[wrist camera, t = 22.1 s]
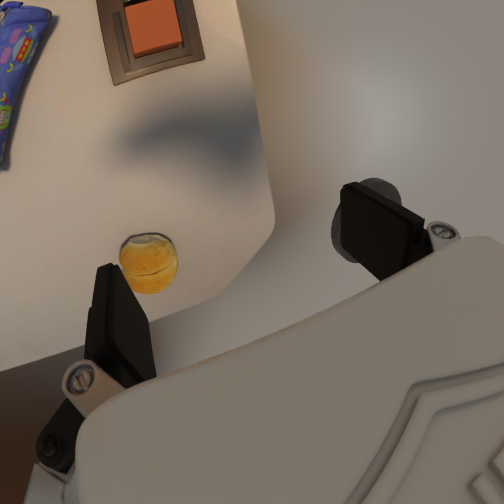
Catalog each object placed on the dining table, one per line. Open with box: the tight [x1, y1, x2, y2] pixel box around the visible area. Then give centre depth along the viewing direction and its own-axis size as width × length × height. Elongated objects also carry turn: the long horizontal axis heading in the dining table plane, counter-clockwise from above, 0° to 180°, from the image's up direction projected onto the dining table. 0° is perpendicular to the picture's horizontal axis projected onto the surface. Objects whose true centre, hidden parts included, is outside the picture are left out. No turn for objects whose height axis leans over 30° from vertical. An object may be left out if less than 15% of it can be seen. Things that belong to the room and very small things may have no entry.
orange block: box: [125, 0, 182, 59], centre depth 20 cm, size 5×6×4 cm
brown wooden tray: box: [96, 0, 205, 86], centre depth 20 cm, size 11×15×5 cm
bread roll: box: [119, 235, 178, 294], centre depth 37 cm, size 8×9×4 cm
